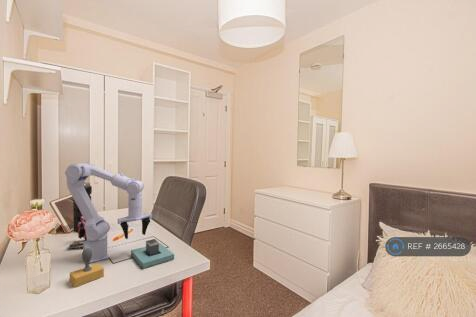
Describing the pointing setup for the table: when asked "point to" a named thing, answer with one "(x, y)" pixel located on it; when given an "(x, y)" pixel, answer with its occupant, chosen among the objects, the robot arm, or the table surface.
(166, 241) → the table surface
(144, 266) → the outlet block
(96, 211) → the robot arm
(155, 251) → the plug
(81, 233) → the statue
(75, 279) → the rubber stamp
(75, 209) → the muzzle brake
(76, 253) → the table surface
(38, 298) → the table surface
